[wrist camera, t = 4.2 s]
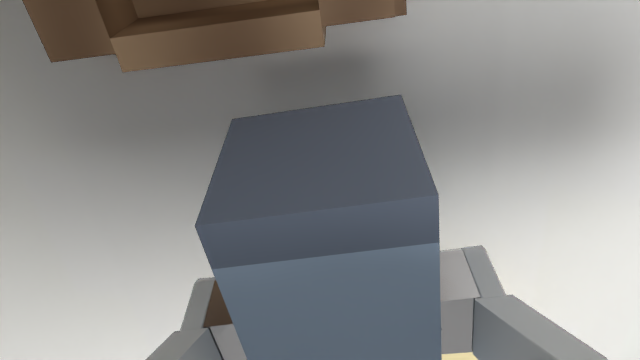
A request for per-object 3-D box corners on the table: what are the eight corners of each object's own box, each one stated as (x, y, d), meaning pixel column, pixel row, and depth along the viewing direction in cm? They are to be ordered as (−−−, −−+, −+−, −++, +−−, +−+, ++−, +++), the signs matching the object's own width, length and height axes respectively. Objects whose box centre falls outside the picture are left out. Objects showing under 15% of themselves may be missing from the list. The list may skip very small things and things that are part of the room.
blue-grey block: (294, 335, 15) (287, 463, 12) (232, 119, 11) (194, 225, 8) (415, 322, 15) (443, 450, 12) (401, 94, 11) (438, 195, 7)
